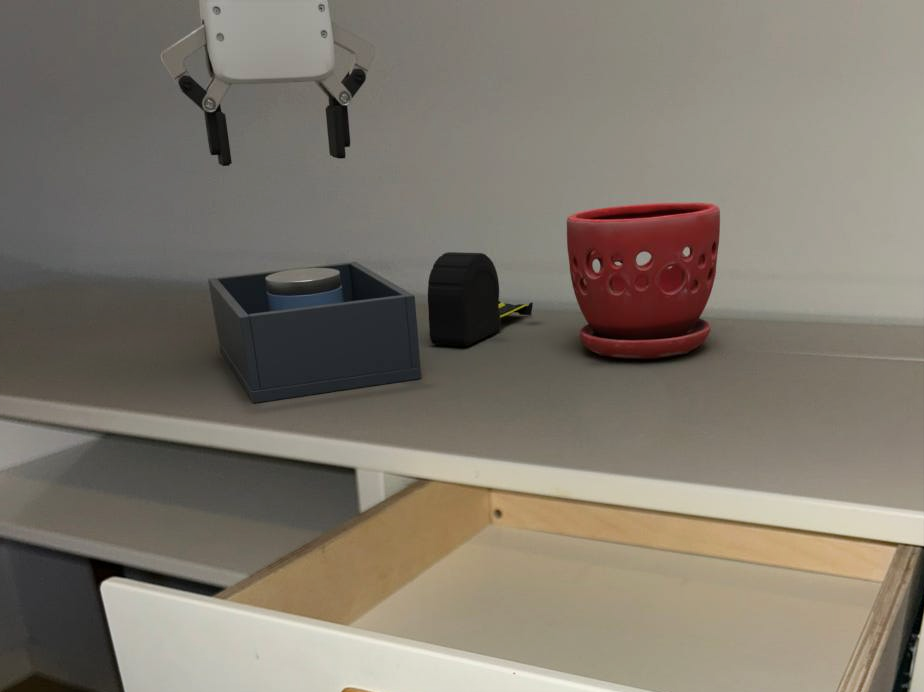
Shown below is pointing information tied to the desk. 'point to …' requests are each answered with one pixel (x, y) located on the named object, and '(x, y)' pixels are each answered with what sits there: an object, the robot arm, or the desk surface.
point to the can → (303, 288)
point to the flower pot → (644, 277)
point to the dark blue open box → (316, 336)
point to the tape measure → (466, 299)
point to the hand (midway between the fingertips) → (282, 161)
